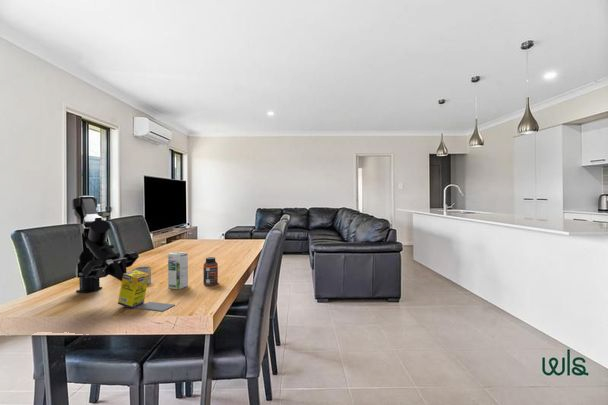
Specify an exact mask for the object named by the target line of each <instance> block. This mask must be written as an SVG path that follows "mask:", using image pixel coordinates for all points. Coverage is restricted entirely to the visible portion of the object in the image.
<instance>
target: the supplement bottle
mask: <svg viewBox="0 0 608 405" xmlns="http://www.w3.org/2000/svg"><path fill="white" fill-rule="evenodd" d="M218 264H219V263H218V262H216V257H215V256H214V257H213V256H208V257H206V258H205V262H204V264H203V272H202V274H203V280H202V281H203V285H205V286H215V285H217V284H218V282H219V279H218V278H219V277H218V276H219V270H218V269H219V267H218V266H219V265H218Z"/></svg>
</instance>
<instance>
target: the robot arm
mask: <svg viewBox="0 0 608 405" xmlns="http://www.w3.org/2000/svg"><path fill="white" fill-rule="evenodd" d="M71 200H72V201H71V209H72V210H73V214H74V216H75V217H76V218H77V219H78V220H79V231H80V244H81V253H80V255H79V256H78V260H77V262H76V264H75V265H76V266H75V276H76V279H79V289H76V292H77V293H85V294H86V293H87V294H89V293H93V292H96V291H99V290H102V289H103V286H101V284H100V283H101V282H100V279H102V278H106V277H108V276H111V277H113V278H116V279H117V280H118V281H120V282H121V283H122V279H123V274H124V273H128V271H127V268H130V267H133V265H134V264H135V262H136V261H137V260H138V259H139V258H140V256H139V254H138V253H137V252H136V251H133V252H127V253H125V254H124V255H123V257H121V253H120V252H117V253H116V251H115V250H114V248H115V246H114V244H110V243H109V242H108V241H107V240H108V236H109V232H110V230H111V225H110V223H109V222H108V221H106V220H105V219H104V217H102V216H100V215H99V214H98V210H97V209H98V198H96V197H95V196H93V195H81V196H79V197H75V198H73V199H71ZM120 257H121V258H120ZM76 292H75V293H76Z"/></svg>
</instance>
